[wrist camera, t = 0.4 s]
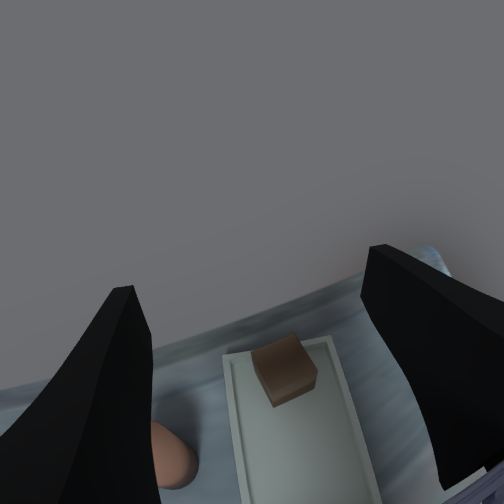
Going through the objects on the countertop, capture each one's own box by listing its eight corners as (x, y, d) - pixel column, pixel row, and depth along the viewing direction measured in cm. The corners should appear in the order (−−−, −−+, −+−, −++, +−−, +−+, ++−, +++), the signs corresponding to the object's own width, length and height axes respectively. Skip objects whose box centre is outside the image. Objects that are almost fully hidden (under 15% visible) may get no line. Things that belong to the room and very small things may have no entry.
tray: (377, 509, 17) (384, 509, 15) (251, 538, 16) (248, 541, 15) (328, 344, 29) (330, 334, 28) (225, 363, 29) (222, 355, 28)
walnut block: (314, 388, 25) (318, 370, 23) (273, 408, 25) (271, 392, 22) (293, 354, 28) (294, 332, 26) (254, 372, 27) (250, 351, 25)
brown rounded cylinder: (201, 488, 20) (179, 483, 16) (145, 489, 20) (112, 480, 16) (195, 436, 24) (174, 417, 19) (143, 439, 23) (112, 419, 19)
